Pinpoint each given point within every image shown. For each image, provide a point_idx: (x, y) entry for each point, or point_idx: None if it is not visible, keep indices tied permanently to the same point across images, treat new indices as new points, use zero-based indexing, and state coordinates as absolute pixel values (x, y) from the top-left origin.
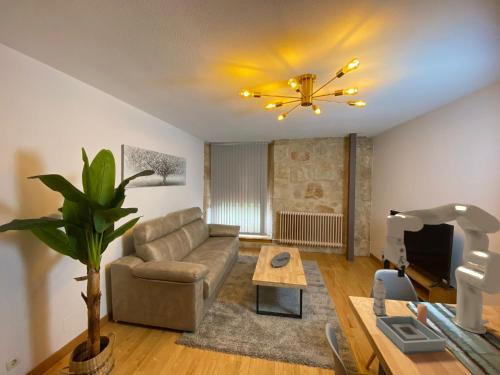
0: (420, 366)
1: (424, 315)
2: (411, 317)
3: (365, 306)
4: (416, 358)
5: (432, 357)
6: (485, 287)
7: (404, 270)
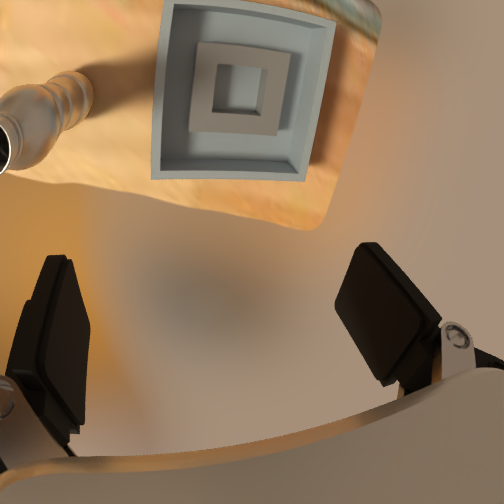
0: (333, 158)
1: None
2: (173, 4)
3: None
4: None
5: None
6: None
7: (426, 305)
